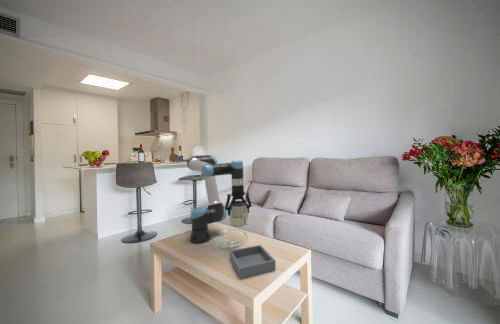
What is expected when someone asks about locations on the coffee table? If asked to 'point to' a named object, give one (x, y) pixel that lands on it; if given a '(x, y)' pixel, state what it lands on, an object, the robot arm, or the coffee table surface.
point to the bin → (251, 261)
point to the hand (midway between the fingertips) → (238, 219)
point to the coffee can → (239, 214)
